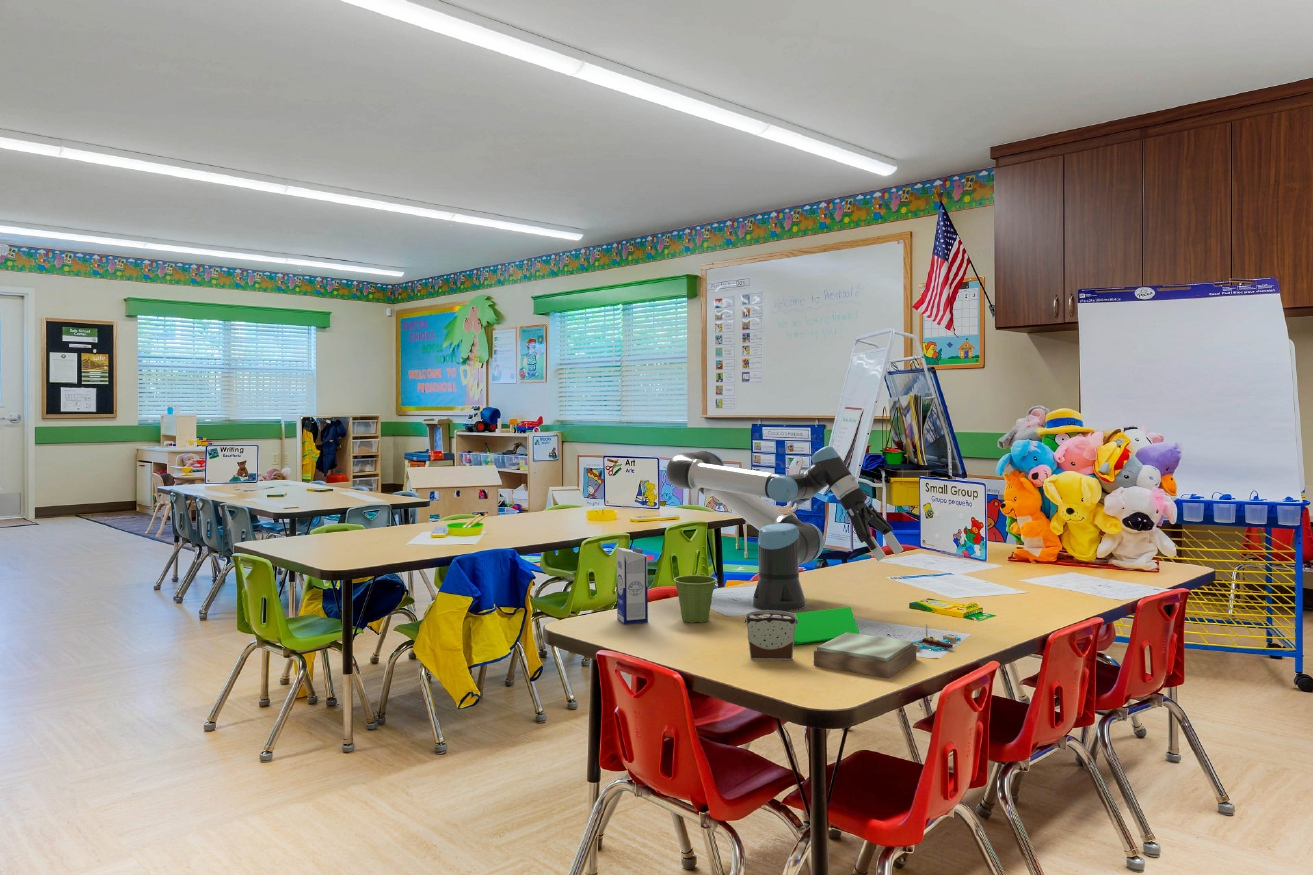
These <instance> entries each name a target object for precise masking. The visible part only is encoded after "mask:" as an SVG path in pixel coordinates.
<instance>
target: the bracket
mask: <svg viewBox="0 0 1313 875" xmlns="http://www.w3.org/2000/svg"><path fill="white" fill-rule="evenodd" d="M793 614H795V615H796V618H797V619H798V624H799V625H798V624H797V623H796V627H795V637H794V645H804V644H811V643H819V642H828V641H830V640H832V639H834V638H836V637H838V636H840V635H842V634H844V633H846V632H848V633H855V634H860V632H859V629H858V625H857V622H856V620H855V619H856V618H855V617H854V613H853V610H852V607H851V606H847V607H846V606H845V607H837V608H829V609H822V610H811V611H803V612H794V613H793Z"/></svg>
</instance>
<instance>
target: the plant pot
mask: <svg viewBox="0 0 1313 875" xmlns="http://www.w3.org/2000/svg"><path fill="white" fill-rule="evenodd" d="M673 581H674V583H675V587H676V590H677V595H678V600H679V601H678V602H679V608H680V614H681V619H682V621H684V622H686V623H691V624H693V623H694V624H695V623H697V622H698V623H701V624H702V623H705V622H707V621H709V618H710V613H711V607H712V599H713V593H714V590H715V585H716V582H717V581H718V579H717V578H716V577H713V576H708V575H701V574H700V575H699V574H697V575H695V574H692V575H691V574H690V575H683V576H682V575H681V576H677V577H674V578H673Z"/></svg>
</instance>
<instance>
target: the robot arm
mask: <svg viewBox="0 0 1313 875" xmlns="http://www.w3.org/2000/svg"><path fill="white" fill-rule="evenodd" d="M811 462H812V465H811V466H810V467H808V468H807V469H806V470H804V471H803V472H801V473H796V474H783V473H782V474H780V473H772V472H768V471H767V472H765V471H759V470H754V469H753V470H752V469H745V468H739V467H738V468H737V467H733V466H732V467H731V466H725V465H724V461H723V459H722V458H721V457H720V455H718V454H717V453H714V452H711V451H705V450H700V451H695V452H694V451H693V452H692V451H691V452H680V453H678V454H675V455H674V456H672V457H671V458H670V460H669V461H668V463H667V465H666V477H667V479H668V481H669V482H670V483H671V485H672V486H674V487H675V488H679V489H681V490H682V489H683V490H686V489H687V490H695V491H697V492H699V493H701V494H702V495H703V496H704V497H706V498H709V497H714V498H715V499H716V500H718V501H719V502H720V503H722V504H723V505H725V506H726V507H727V508H729V509H730V510H731V511H733V513H735V514H737V516H739V517H740V518H742V519H743V520H745V521H746V522H747V523H748V524H750V525H751V526H752V527H754V528H755V529H756V530H758V531H759V532H758V538H757V544H758V546H757V547H758V580H757V585H756V587H755V589H754V593H753V595H752V596H753V597H752V605H753V607H755V608H757V609H760V610H778V611H786V612H789V611H796V610H801V609H803V608H805V607H806V598H805V594H804V592H803V589H802V585H801V582H800V566H799V565H802V564H808V563H811V562H813V561H814V560H816V559H817V558H819V556H821V553H822V552H823V549H824V545H825V541H824V535H823V533H822V531H821V530H820V528H819V527H818V526H816V525H815V524H813V523H811V522H810V523H809V522H803V521H801V520H800V519H799V518H797V517H796V516H794V515H793V514H791V513H789V514H783V513H782V512H781V511H779V510H778V509H776V508H775V507H774V506H772V505H771V504H770V503H768V502H767V501H766V500H764V499H765V498H767V499H771V500H773V501H775V502H777V503H789V502H793V503H794V504H796V505H803V504H805V503H806V502H808V501H810V500H811V499H812V498H813V497H814V496H816V495H817V494H818V493H819V492H821V491H822V490H823V489H825V488H826V487H829V489H830V491H832V494H833V495H834V496H835V498H836V500H839V503H840V505H841V506H842V509H843V510H844V511H845V512H846V514H847V515H848V517H849V519H850V521H851V524H852V526H853V529H854V531H855V534H856V536H857V539H858V540H859V541H860V543H862V544H863V543H865V544H866V546H867V548H868V549H869V551H870V552H871V554H872V555H873V557H874V558H875V560H876V561H877V562H880V561H881V560H883V559H884V558H886V557H887V555H886V554H885V552H884V551H883V549H882V548H881V546H880V544H879V543H878V541H877V540H876V538H875V537H874V536H871V535H872V534H871V531H870V527H869V524H870V525H871V526H873V528H875V529H876V530H877V531H879V532H880V533H881V535H883V536H882V537H883V539H884V540H885V541H886V543H887V545H888V546H889V548H890V549H891V551H892V552H893V553H894V555H895V556H897V555H899V554H900V553H901V552H903V551H904V548H903V547H902V545H901V544H900V542H899V541H898V539H897V538H896V536H895V534H894V533H893V532H892V531H893V530H894V528H893V526H892V525H891V524H890V523H889V522H888V521H887V520H886V519H885V518H884V517H883V516H882V515H881V514H880V512H878V511H877V510H876V509H875V508H876V507H874V505H873V504H872V503H869V504H868V505H867V504H866V501H867V499H868V495H866V493H865V491H864V490H863V488H861V487H860V485H859V483H858V481H857V480H856V479H857V478H856V476H854V475H853V473H851V471H850V470H849V468H848V466H847V465H846V464H845V462H844V460H843V459H842V457H841V455H839V453H838V452H837V450H835V448H834V447H833V446H831V445H827V446H824V447H821V448H820V449H819V450H817V451H815V452H814V453H813V454H812V456H811ZM763 498H764V499H763Z"/></svg>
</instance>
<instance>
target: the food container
mask: <svg viewBox="0 0 1313 875" xmlns="http://www.w3.org/2000/svg"><path fill="white" fill-rule="evenodd" d="M796 623H797V624H798V619H797V618H796V615H795V614H793V613H792V612H790V611H778V610H765V609H760V610H754V611H750V612H747V613H746V615H745V617H744V621H743V625H745V624H746V630H747V638H748V647H749V648H748V649H749V656H750V657H749V658H750V660H778V661H780V660H781V661H784V660H785V661H793V656H794V646H795V644H794V637H795V627H796ZM798 625H799V624H798Z"/></svg>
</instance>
